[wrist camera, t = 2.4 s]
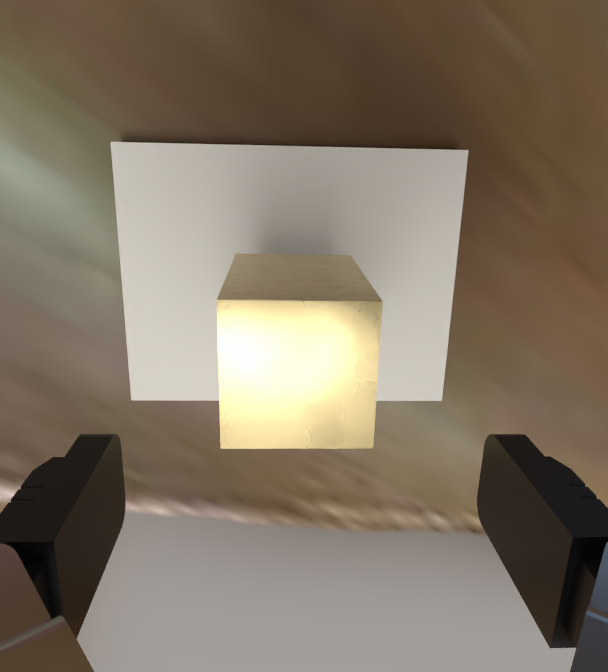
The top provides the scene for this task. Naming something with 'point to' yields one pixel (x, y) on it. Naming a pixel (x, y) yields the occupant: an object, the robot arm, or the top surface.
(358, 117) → the top surface
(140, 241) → the base board
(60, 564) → the robot arm
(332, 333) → the gold rectangular block
